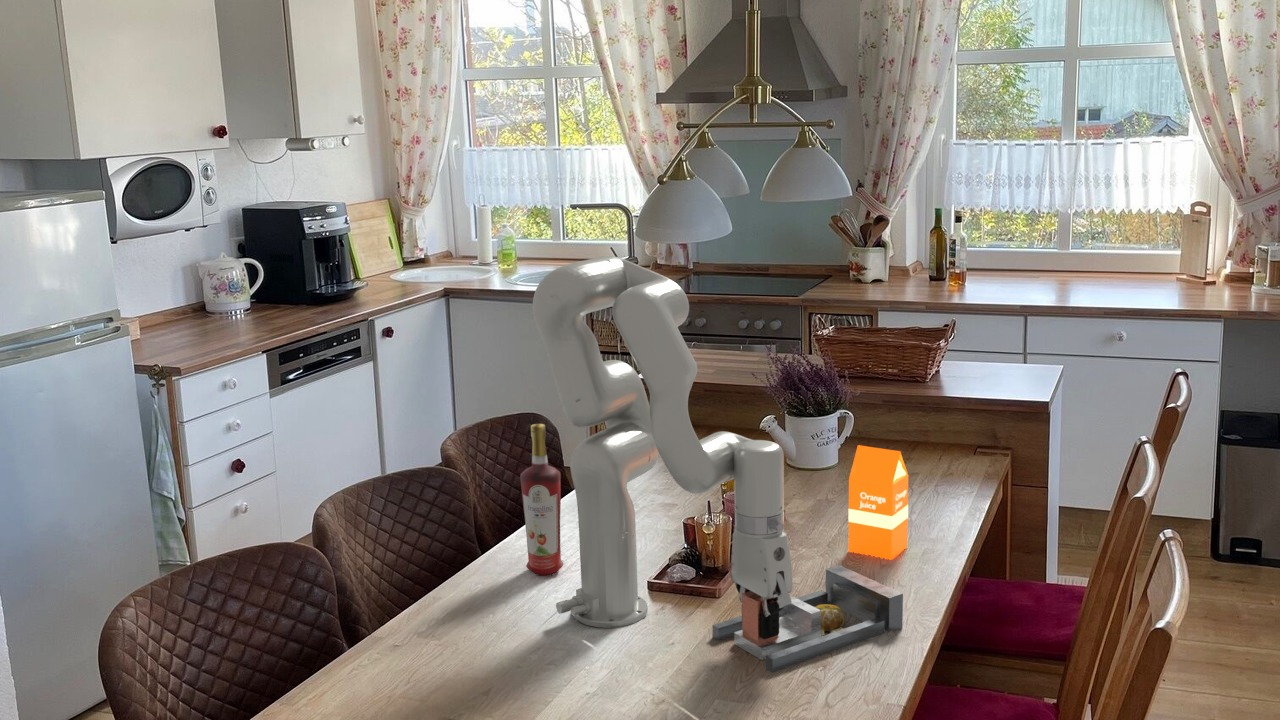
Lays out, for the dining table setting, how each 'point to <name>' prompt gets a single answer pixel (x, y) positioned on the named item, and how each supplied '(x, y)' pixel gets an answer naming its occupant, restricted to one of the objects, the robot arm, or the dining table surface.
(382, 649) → the dining table surface
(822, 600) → the press frame
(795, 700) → the dining table surface
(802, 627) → the ram
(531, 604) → the dining table surface
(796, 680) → the dining table surface
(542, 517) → the liquor
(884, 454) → the orange juice
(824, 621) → the fruit
